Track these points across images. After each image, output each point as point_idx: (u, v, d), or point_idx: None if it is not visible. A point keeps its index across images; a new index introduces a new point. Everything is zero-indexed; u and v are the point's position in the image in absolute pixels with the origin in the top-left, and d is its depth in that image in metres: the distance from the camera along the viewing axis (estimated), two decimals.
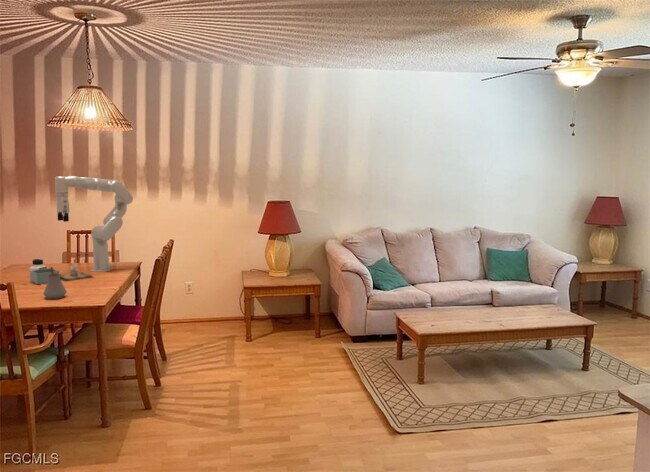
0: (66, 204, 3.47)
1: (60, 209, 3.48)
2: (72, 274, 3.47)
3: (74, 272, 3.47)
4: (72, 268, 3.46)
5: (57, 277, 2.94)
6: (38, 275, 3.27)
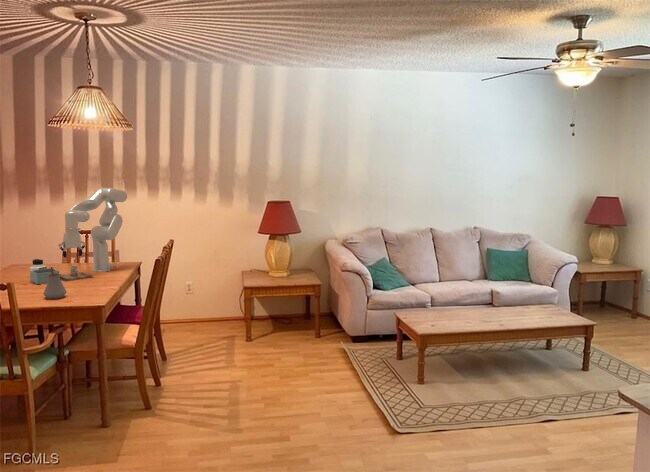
0: None
1: (77, 244, 3.46)
2: (72, 274, 3.47)
3: (74, 272, 3.47)
4: (72, 268, 3.46)
5: (57, 277, 2.94)
6: (38, 275, 3.27)
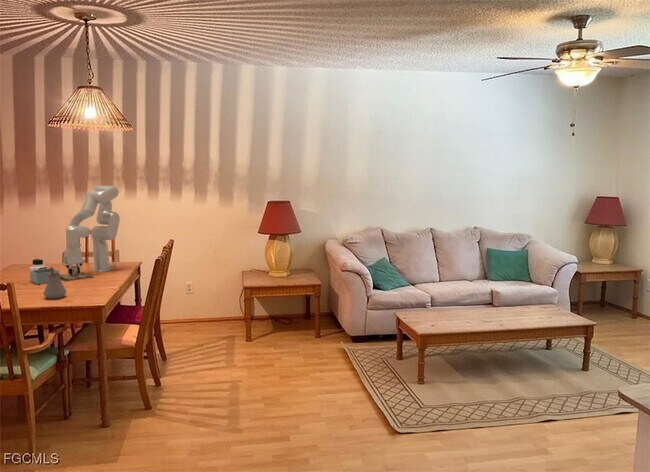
0: None
1: (78, 260, 3.47)
2: (72, 274, 3.47)
3: (74, 272, 3.47)
4: (72, 268, 3.46)
5: (57, 277, 2.94)
6: (38, 275, 3.27)
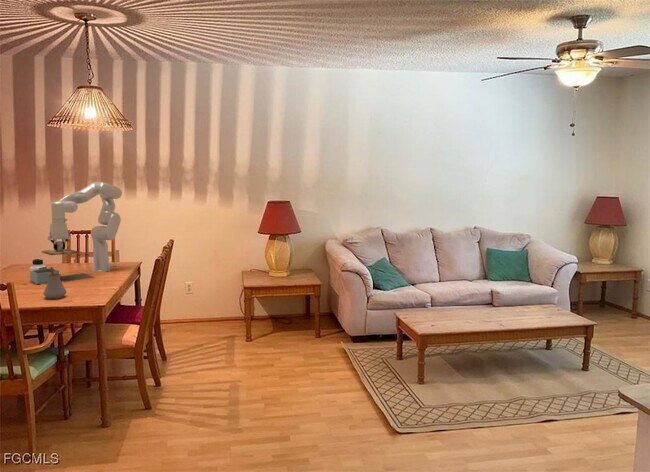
0: None
1: (64, 235, 3.39)
2: (57, 249, 3.38)
3: (59, 247, 3.38)
4: (57, 243, 3.38)
5: (57, 277, 2.94)
6: (38, 275, 3.27)
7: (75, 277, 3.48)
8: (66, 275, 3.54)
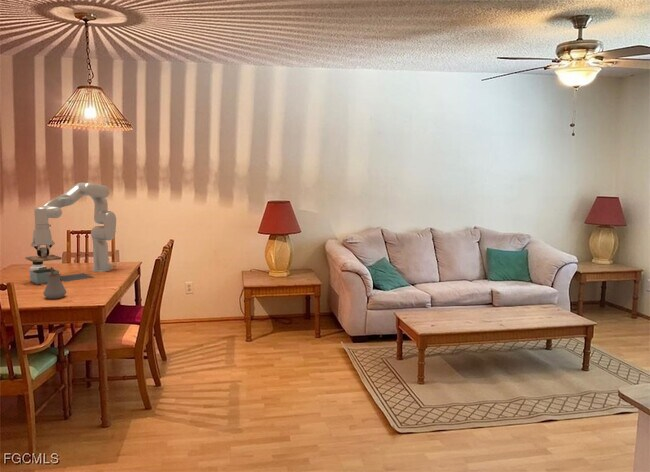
0: None
1: (47, 241, 3.33)
2: (41, 256, 3.32)
3: (43, 253, 3.32)
4: (41, 249, 3.31)
5: (57, 277, 2.94)
6: (38, 275, 3.27)
7: (75, 277, 3.48)
8: (66, 275, 3.54)
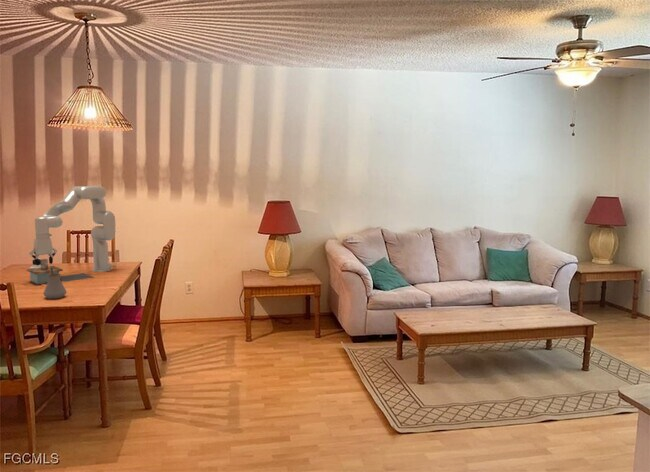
0: None
1: (48, 251, 3.34)
2: (42, 268, 3.33)
3: (44, 265, 3.33)
4: (42, 261, 3.32)
5: (57, 277, 2.94)
6: (38, 275, 3.27)
7: (75, 277, 3.48)
8: (66, 275, 3.54)
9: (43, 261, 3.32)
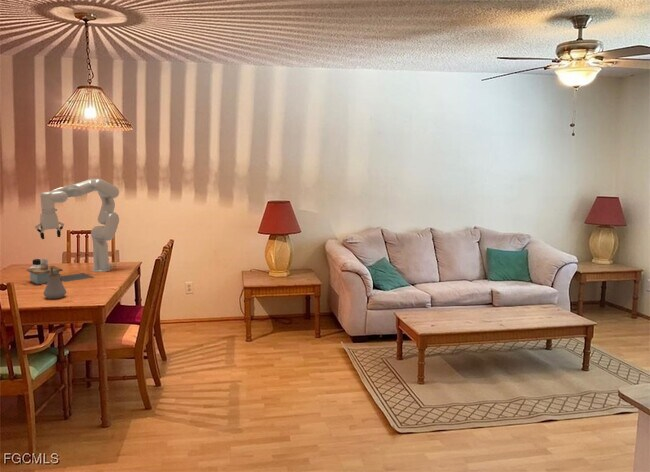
0: None
1: (54, 225, 3.39)
2: (42, 268, 3.33)
3: (44, 265, 3.33)
4: (42, 261, 3.32)
5: (57, 277, 2.94)
6: (38, 275, 3.27)
7: (75, 277, 3.48)
8: (66, 275, 3.54)
9: (43, 261, 3.32)
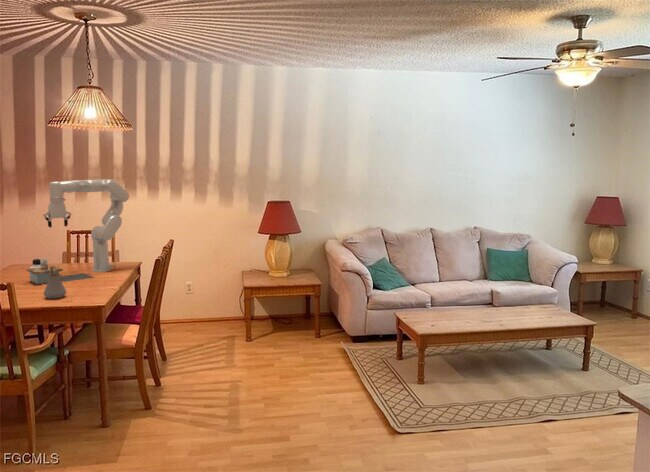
0: None
1: (62, 214, 3.47)
2: (42, 268, 3.33)
3: (44, 265, 3.33)
4: (42, 261, 3.32)
5: (57, 277, 2.94)
6: (38, 275, 3.27)
7: (75, 277, 3.48)
8: (66, 275, 3.54)
9: (43, 261, 3.32)
